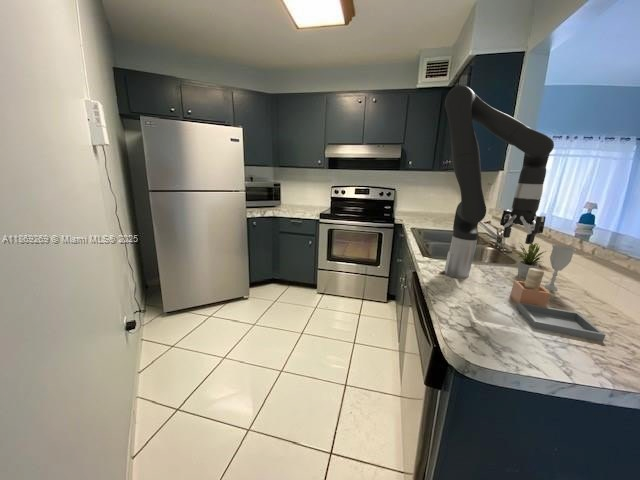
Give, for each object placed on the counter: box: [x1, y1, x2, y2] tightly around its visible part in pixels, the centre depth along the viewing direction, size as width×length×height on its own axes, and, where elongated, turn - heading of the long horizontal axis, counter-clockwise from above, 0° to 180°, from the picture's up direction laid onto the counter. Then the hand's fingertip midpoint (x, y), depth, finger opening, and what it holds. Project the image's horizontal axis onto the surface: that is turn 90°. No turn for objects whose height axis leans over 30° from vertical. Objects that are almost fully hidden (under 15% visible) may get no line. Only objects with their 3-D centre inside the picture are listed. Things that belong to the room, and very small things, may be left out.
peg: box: [524, 268, 545, 291], centre depth 88 cm, size 4×4×12 cm
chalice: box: [543, 244, 577, 292], centre depth 100 cm, size 7×7×18 cm
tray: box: [516, 302, 606, 342], centre depth 77 cm, size 16×12×3 cm
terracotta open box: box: [509, 279, 551, 307], centre depth 88 cm, size 8×8×7 cm
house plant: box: [513, 242, 547, 279], centre depth 115 cm, size 14×14×16 cm
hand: (516, 240), depth 95 cm, fingers open, 8 cm apart
